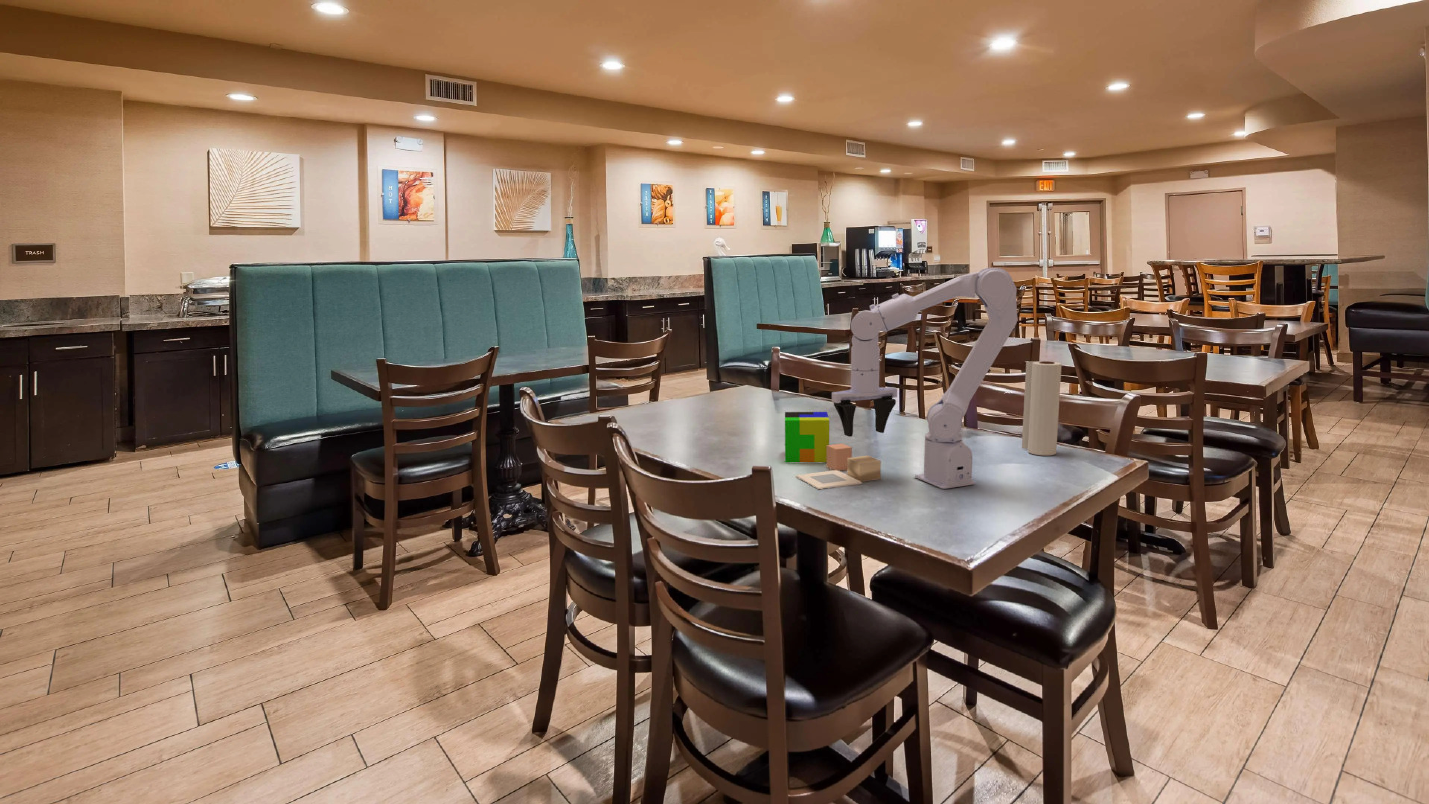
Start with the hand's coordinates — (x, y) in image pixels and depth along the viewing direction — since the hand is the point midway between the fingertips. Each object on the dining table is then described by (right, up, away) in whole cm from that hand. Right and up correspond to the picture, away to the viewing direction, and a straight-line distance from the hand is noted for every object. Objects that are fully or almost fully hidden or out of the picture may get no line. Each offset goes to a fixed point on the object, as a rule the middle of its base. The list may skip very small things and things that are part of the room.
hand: (864, 433), depth 153 cm
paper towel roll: (+45, -5, +18) cm, 49 cm away
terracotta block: (-4, -8, +9) cm, 13 cm away
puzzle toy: (-10, -7, +19) cm, 22 cm away
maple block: (0, -9, +2) cm, 10 cm away
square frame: (-8, -10, 0) cm, 12 cm away
